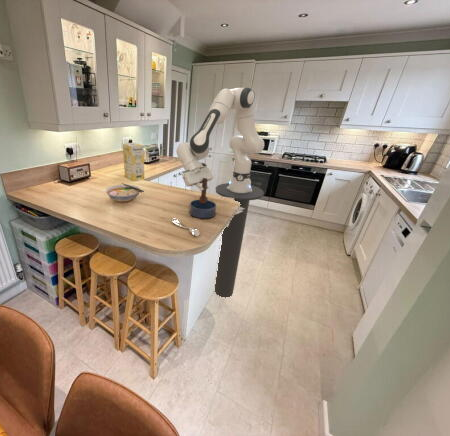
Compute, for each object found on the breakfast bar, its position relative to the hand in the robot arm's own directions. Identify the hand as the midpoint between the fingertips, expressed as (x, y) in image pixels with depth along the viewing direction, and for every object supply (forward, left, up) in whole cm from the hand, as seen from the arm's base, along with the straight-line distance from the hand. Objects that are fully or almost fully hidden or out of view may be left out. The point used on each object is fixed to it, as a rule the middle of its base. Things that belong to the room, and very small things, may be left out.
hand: (205, 189), depth 131 cm
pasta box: (-49, -76, -15) cm, 92 cm away
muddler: (0, -1, -8) cm, 8 cm away
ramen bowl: (+1, -55, -15) cm, 57 cm away
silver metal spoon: (+21, -4, -15) cm, 27 cm away
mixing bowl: (0, 0, -15) cm, 15 cm away
